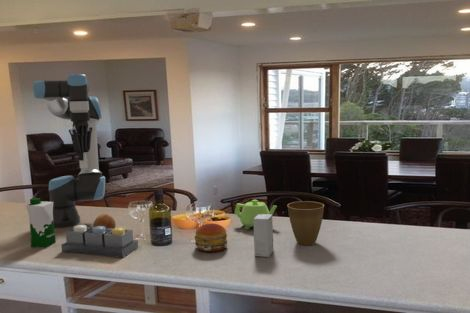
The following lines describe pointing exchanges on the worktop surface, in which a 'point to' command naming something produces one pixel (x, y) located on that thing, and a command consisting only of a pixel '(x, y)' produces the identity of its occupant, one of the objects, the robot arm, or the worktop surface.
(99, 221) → the onion
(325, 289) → the worktop surface
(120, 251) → the grey frame
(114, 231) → the mustard button
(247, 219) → the teapot
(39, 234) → the milk carton
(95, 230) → the slate button
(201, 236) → the burger
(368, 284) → the worktop surface
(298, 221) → the plant pot
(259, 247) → the skincare box
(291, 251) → the worktop surface
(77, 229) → the cream button
